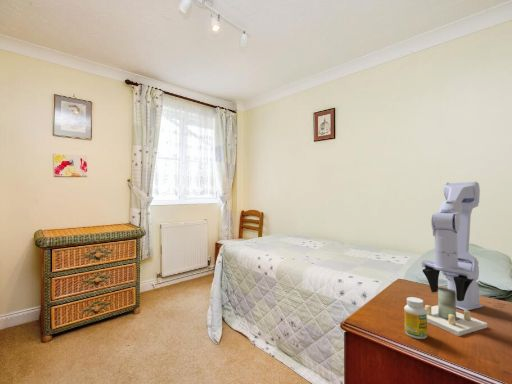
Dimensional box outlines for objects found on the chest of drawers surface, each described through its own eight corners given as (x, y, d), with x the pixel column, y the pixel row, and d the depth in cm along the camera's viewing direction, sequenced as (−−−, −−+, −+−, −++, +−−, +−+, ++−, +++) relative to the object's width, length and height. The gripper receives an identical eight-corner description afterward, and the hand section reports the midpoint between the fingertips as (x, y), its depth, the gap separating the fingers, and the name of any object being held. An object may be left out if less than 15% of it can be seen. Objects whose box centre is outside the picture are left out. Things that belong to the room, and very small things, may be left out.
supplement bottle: (410, 327, 76) (409, 294, 76) (430, 335, 72) (430, 300, 72) (400, 333, 73) (400, 298, 73) (421, 341, 69) (420, 305, 69)
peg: (444, 312, 83) (444, 287, 83) (459, 318, 79) (459, 291, 79) (435, 314, 81) (434, 288, 82) (449, 320, 77) (449, 293, 78)
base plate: (438, 308, 89) (438, 297, 89) (487, 327, 76) (487, 314, 76) (411, 314, 84) (411, 303, 84) (458, 336, 71) (458, 322, 71)
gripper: (414, 248, 86) (415, 289, 86) (463, 257, 72) (464, 307, 72) (429, 246, 89) (430, 287, 88) (479, 255, 75) (480, 303, 75)
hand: (446, 295), depth 80 cm, fingers open, 7 cm apart
